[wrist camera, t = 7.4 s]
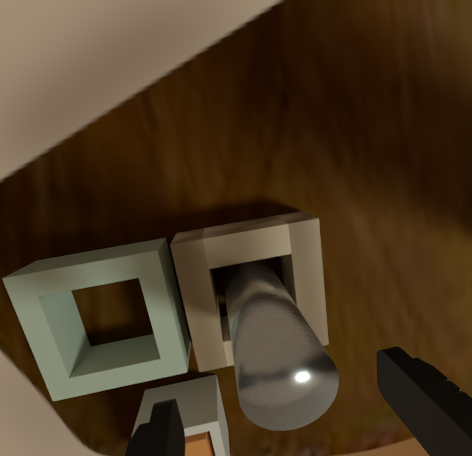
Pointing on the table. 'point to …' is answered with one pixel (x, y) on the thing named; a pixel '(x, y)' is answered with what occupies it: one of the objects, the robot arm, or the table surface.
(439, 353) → the table surface
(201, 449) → the orange cube
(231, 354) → the socket block
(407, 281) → the table surface
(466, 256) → the table surface
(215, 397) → the housing
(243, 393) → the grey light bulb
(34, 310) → the frame
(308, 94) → the table surface
